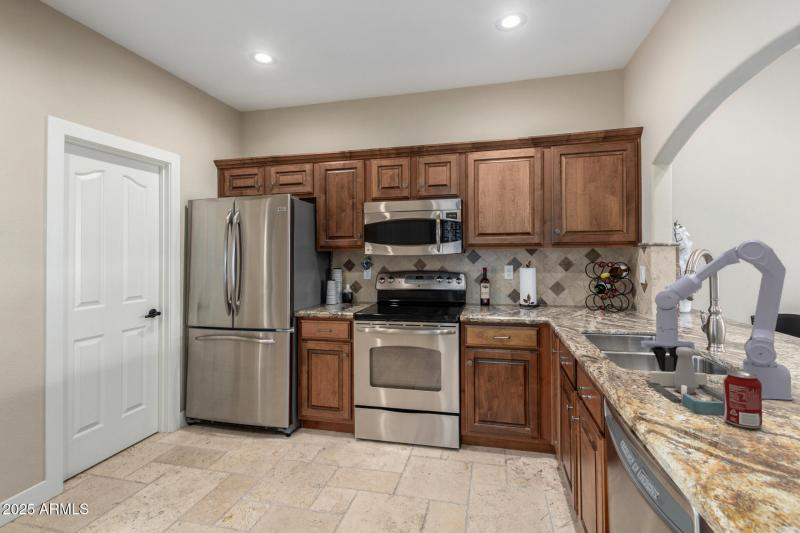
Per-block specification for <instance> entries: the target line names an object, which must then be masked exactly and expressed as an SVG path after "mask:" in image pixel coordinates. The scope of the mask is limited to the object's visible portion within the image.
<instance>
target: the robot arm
mask: <svg viewBox="0 0 800 533" xmlns="http://www.w3.org/2000/svg"><path fill="white" fill-rule="evenodd" d="M740 260H742V261H743V262H745V263H748V264H750V265H752V266H753V267H754V268H755V269H756V270H757V271H758V272H760V273H761V280H760V285H759V291H758V294H757V295H758V296H757V301H756V306H755V313H754V319H753V323H752V324H753V325H752V328H751V332H750V333H751V334H750V337H749V338H748V339H747V340H746V341H745V343H744V347H743V348H744V351H745V356H746V357H745V358H743V359H742V368H743V369H742V371H745V372H750V373H754V374H756V375H758V380H759V381H760V382H761V384H762V400H763V399H764V400H765V399H766V400H785V401H786V400H790V401H793V400H794V398H793V397H792V375H791V372H790V371H789V370H790V369H788V367H787V366H785V365H784V364H780V363H778V362H776V359H777V354H778V353H777V352H776V349H775V346H774V345H775V332H776V327H777V322H778V321H777V320H778V316H779V311H780V306H781V305H780V304H781V300H782V295H783V294H782V293H783V289H784V283H785V277H786V272H787V270H786V266H785V265H784V263H783V262H782V261H781V259H780V258H779V257H778V255H777V253H775V251H774V249H773V248H772V247H771V246H770V245H768V244H766V243H765V242H763V241H762V240H759V239H755V238H754V239H747V240H744V241H742V242H741V243H740V244H739V245H738V246H737V245H736V246H734V247H732V248H729V249H727V250H726V251H724V252H722V253H720V254H719V255H718V256H716V257H715V258H714V259H713V260H711V261H710V262H709V263H707V264H706V265H704V266H703V267H702V268H700V269H699V270H698V271H697V272H695V273H693V274H692V273H685V274H684V275H682V274H680V275H679V276H677V279H676V280H675V281H674V282H673V283H671V284H670V285H665V286H664V289H665V290H662V291H659V292H658V293H656V295H655V298H654V302H655V305H656V307H655V308H656V313H655V319H656V320H655V321H656V322H655V328H656V329H655V331H656V335H655V336H656V339H655V340H654V339H653V340H652V339H651V340H641V341H640V344H641V345H640V347H642V348H644V349H647V348H650V349H651V351H652V353H653V355H654V356H655V359H656V362H657V364H658V367H659V368H658V369H659V371H660V372H661V371H665V356H666V355H667V350H668V355H670V356H672V357H674V372H675V371H676V366H677V361H678V355H676V348H678V347H687V348H691V349H693V350H695V342H693V341H684V340H683V341H682V340H679V316H678V312H677V311H678V310H677V309H678V304H679V302H680V301H684V300H686V299H688V298H689V297H690V296H692V295H693V294H695V293H696V292H697V291H699V290H701V289H702V286H703V282H704V281H705V280H707V279H708V278H710V277H711V276H713V275H714V274H716V273H718V272H719V271H721V270H722V269H724V268H726V267H728V266H730V265H734V264H740V263H741V261H740ZM665 349H667V350H665Z"/></svg>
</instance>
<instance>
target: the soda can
mask: <svg viewBox="0 0 800 533" xmlns="http://www.w3.org/2000/svg"><path fill="white" fill-rule="evenodd" d="M722 380H723V382H722V384H723V386H722V387H723V393H722V394H723V397H724V415H723V419H724V421H725V422H727V423H729V425H731V426H734V427H737V428H741V429H744V430H745V429H746V430H755V429H759V428H761V427H763V399H762V384H761V382H760V381H759V380H758V375H756V374H754V373H750V372H745V371H743V370H736V369H735V370H733V369H732V370H727V371H726V374H725V376H724V377H723V379H722Z"/></svg>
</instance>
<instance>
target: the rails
mask: <svg viewBox="0 0 800 533" xmlns="http://www.w3.org/2000/svg"><path fill="white" fill-rule="evenodd" d="M645 381H646V385H647V386H649V387H651V389H653V390H654V391H656V392H658V393H659V394H660V395H662V396H664V397H665V398H666V399H667V400H669V401H670V402H672V403H673V404H681V397H679V396H677V395H676V394H674V393H673V392H672V391H670V390H668V389H667V388H665V386H661V385H659V384H658V383H651V382H650V381H649V379H648V380H645ZM697 389H700V390H701V391H703V392H705V393H706V394H709V395H710V396H712V397H714V398H716V399H718V400H719V401H720V402H724V397H723V393H722V392H720V391H718V390H716V389H714V388H713V387H711V386H709V385H708V384H707V385H701V384H699V387H697Z"/></svg>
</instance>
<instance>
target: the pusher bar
mask: <svg viewBox="0 0 800 533" xmlns="http://www.w3.org/2000/svg"><path fill="white" fill-rule="evenodd" d="M648 375H649V379H648V380H649V381H650V382H651V383H658V384H659V385H661V386H662V387H674V388H675V386H674V384H673V381H674V376H675V371H674V357H672V356H670V355H669V354H666V356H665V371H661V370H660V371H654V370H653V371H650V370H649V374H648ZM695 375H696V380H697V384H698V386H697V388H698V387H699V384H701V385H707V386H708V375H707V373H705V372H695Z"/></svg>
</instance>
